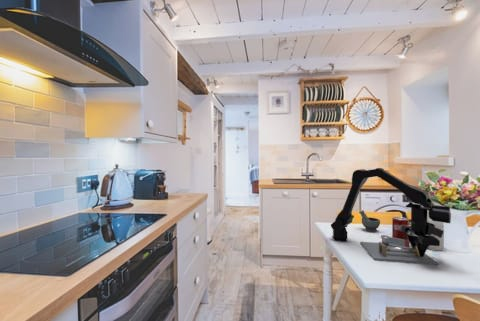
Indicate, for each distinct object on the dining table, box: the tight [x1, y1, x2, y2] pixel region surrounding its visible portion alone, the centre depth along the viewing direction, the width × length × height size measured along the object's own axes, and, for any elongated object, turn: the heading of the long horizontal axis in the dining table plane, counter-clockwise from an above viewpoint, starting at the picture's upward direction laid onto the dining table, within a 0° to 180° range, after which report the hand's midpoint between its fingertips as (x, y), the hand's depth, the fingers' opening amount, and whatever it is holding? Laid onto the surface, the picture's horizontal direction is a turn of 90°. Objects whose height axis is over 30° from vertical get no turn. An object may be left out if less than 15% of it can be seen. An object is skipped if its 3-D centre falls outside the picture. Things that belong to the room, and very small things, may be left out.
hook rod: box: [386, 245, 420, 256], centre depth 104 cm, size 15×4×4 cm, turn 79°
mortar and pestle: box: [359, 210, 381, 233], centre depth 142 cm, size 11×9×12 cm
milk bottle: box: [426, 210, 445, 252], centre depth 115 cm, size 8×8×20 cm
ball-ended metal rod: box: [380, 234, 410, 247], centre depth 115 cm, size 12×4×4 cm, turn 51°
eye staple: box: [378, 241, 386, 257], centre depth 106 cm, size 1×5×6 cm, turn 168°
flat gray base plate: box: [359, 241, 439, 266], centre depth 109 cm, size 24×20×1 cm
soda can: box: [391, 216, 410, 240], centre depth 125 cm, size 7×7×12 cm
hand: (418, 254), depth 103 cm, fingers closed on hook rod, 4 cm apart
